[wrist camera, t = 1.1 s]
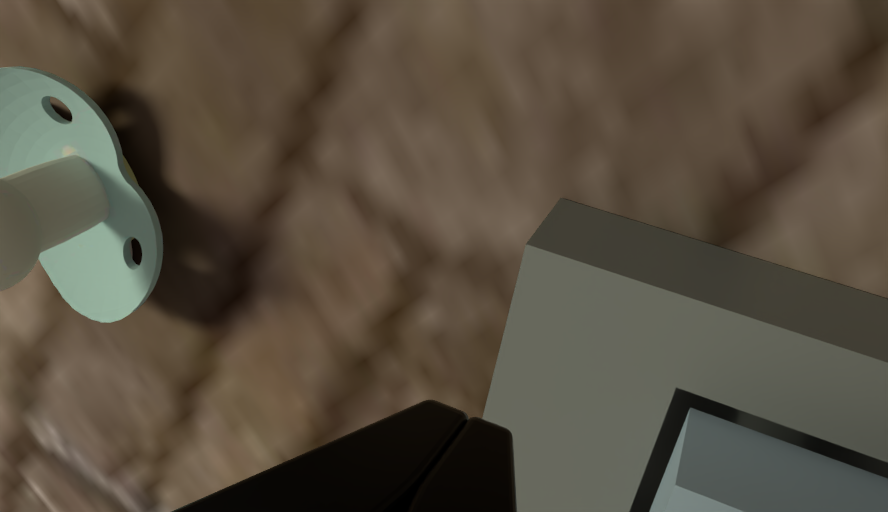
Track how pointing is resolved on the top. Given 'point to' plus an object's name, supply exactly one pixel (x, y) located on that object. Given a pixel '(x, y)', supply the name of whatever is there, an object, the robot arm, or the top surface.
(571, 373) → the keypad
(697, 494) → the slate key
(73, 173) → the pacifier
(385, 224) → the top surface
